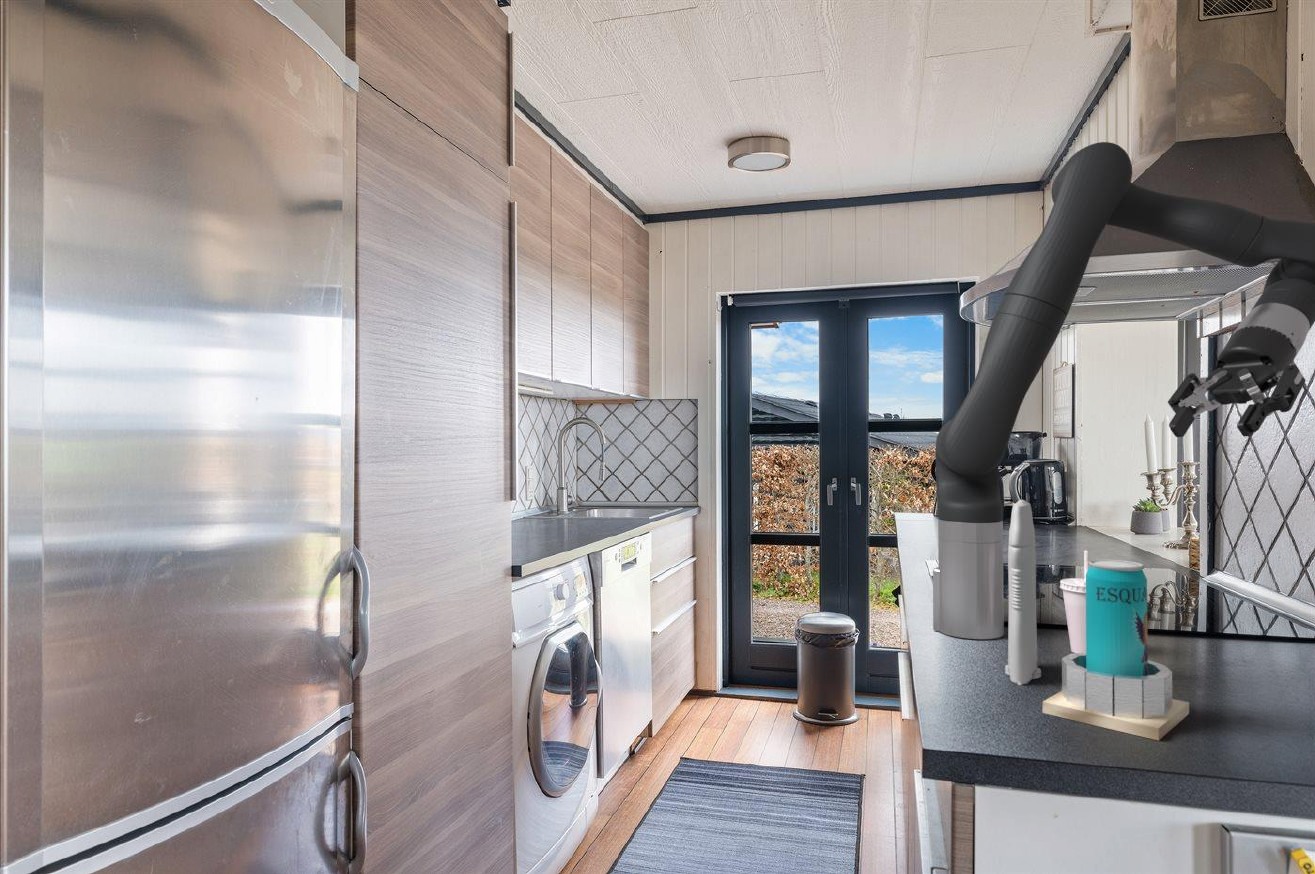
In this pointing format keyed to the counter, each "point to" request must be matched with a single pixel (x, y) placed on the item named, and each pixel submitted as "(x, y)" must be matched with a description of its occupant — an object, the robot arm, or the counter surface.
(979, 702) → the counter surface
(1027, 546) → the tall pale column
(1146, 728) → the base board
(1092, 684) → the collar
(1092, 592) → the beverage can
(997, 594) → the robot arm
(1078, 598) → the smoothie
